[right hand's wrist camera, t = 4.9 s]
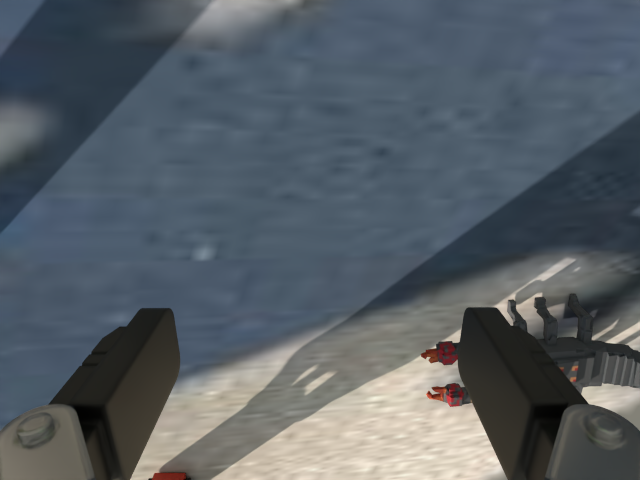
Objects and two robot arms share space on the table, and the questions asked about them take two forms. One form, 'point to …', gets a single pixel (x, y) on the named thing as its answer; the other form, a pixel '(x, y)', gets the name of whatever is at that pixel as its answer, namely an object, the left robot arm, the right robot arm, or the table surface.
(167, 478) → the block
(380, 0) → the table surface
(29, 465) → the right robot arm
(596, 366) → the toy
